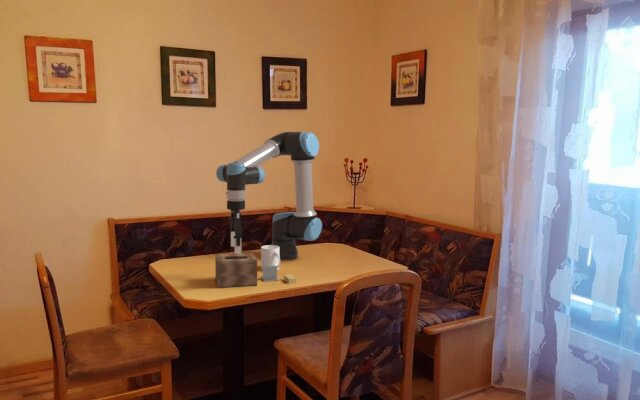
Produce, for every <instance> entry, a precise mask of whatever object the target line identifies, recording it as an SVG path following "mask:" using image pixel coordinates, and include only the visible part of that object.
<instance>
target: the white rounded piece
mask: <svg viewBox="0 0 640 400" xmlns="http://www.w3.org/2000/svg"><path fill="white" fill-rule="evenodd" d="M279 252H280V247H279V246H275V245H272V244H269V245H267V244H266V245H262V246H261V247H260V269H261V270H262V271H263V266H277V271H279V269H280V265H281V259H280V256H279Z"/></svg>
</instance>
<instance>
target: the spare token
mask: <svg viewBox="0 0 640 400" xmlns="http://www.w3.org/2000/svg"><path fill="white" fill-rule="evenodd" d="M283 281H285V282H286V283H288V284H289V285H291V284H297V281H298V280H297V277H296V276H295V275H293V274H292V273H289V274H284V275H283Z"/></svg>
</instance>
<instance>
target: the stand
mask: <svg viewBox="0 0 640 400" xmlns="http://www.w3.org/2000/svg"><path fill="white" fill-rule="evenodd" d="M260 278H261V279H262V281H263V282H273V281H275V282H276V281H277V282H278V281H279V278H278V270H277V266H263V270H262V276H261V277H260Z"/></svg>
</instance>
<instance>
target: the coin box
mask: <svg viewBox="0 0 640 400" xmlns="http://www.w3.org/2000/svg"><path fill="white" fill-rule="evenodd" d="M214 255H215V258H214V260H215V265H214V266H215V268H214V269H215V282H216V286H217V288H218V289H227V288H230V289H231V288H243V287H244V288H245V287H256V286H257V287H258V258H257V257H256V256H255V255H254V253H253V252H250V253H240V254H235V253H226V254H214Z"/></svg>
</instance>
